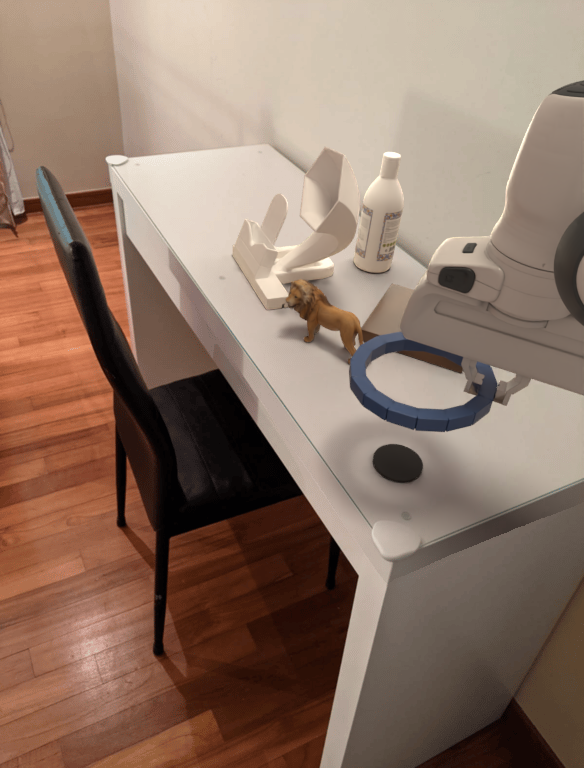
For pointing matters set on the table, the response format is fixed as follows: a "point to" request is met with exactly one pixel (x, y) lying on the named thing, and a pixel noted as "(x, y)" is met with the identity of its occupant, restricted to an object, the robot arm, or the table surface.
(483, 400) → the ring
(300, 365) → the table surface
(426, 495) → the table surface
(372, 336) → the platform
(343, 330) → the lion figurine
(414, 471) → the mat
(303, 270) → the jewelry stand
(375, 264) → the bath foam
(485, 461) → the table surface
